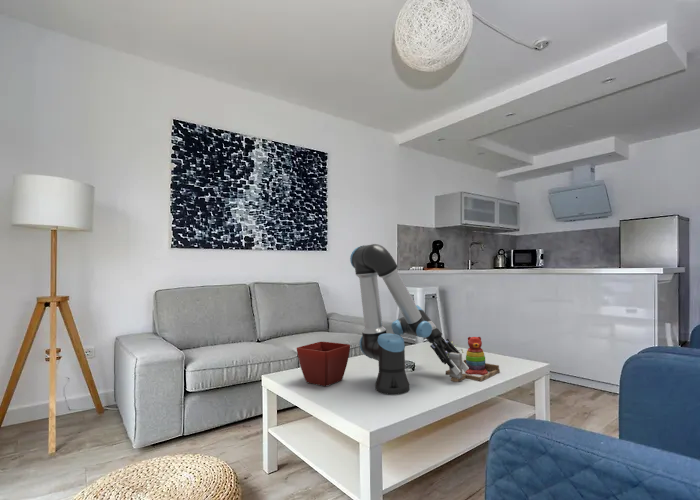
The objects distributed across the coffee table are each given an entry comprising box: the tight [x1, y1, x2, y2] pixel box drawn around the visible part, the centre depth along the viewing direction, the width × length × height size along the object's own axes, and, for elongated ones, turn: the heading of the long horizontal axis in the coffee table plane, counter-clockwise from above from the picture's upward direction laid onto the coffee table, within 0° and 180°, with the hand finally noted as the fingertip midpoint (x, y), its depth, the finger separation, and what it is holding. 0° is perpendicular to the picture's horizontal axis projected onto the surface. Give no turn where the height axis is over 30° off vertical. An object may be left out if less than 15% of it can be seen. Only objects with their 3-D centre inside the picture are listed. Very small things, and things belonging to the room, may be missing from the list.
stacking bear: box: [464, 336, 489, 376], centre depth 188 cm, size 11×10×18 cm
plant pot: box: [296, 341, 351, 387], centre depth 180 cm, size 19×19×17 cm
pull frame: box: [445, 352, 501, 383], centre depth 183 cm, size 28×18×12 cm, turn 135°
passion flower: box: [445, 340, 464, 357], centre depth 218 cm, size 11×11×12 cm
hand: (462, 371), depth 172 cm, fingers open, 7 cm apart
